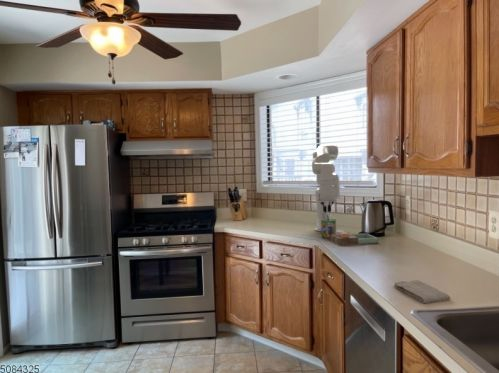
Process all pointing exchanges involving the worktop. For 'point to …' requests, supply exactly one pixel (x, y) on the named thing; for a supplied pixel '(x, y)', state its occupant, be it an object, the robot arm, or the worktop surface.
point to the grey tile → (338, 232)
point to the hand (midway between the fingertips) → (327, 211)
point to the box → (365, 238)
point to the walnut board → (344, 240)
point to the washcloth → (421, 291)
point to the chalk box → (328, 227)
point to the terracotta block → (344, 234)
